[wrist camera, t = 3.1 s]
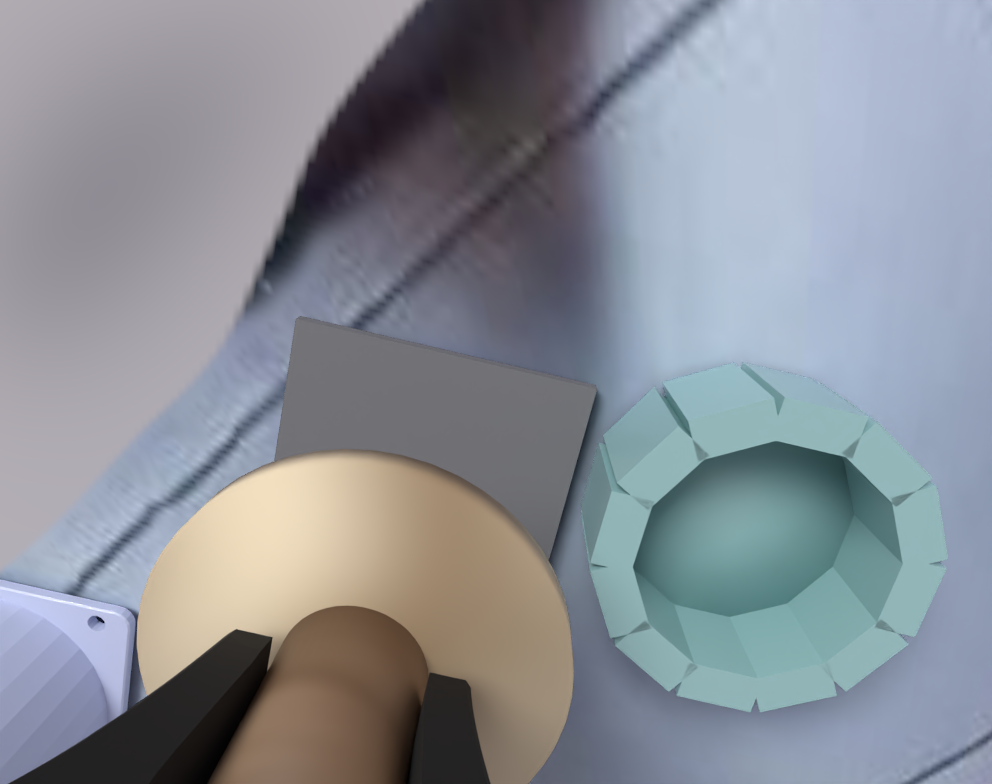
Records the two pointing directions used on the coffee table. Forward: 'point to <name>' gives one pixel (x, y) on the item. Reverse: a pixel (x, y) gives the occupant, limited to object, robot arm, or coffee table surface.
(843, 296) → the coffee table surface
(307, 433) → the mat
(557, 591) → the lid
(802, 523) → the bowl
